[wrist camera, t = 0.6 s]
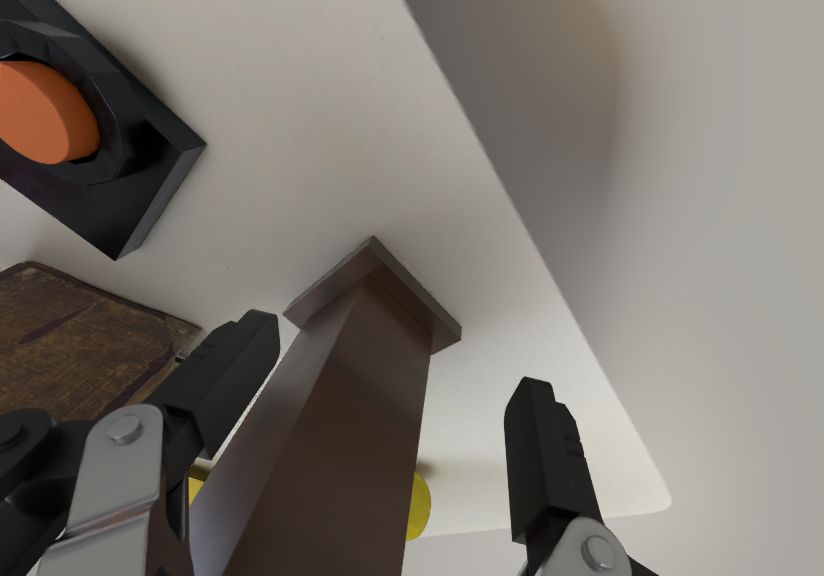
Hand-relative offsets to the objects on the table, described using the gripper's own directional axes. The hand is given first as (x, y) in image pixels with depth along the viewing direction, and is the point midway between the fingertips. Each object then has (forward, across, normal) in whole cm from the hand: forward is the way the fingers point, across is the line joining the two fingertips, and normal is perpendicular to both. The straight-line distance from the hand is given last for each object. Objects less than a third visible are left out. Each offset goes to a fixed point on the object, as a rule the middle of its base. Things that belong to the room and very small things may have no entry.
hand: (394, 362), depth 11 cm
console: (+12, +23, 0) cm, 26 cm away
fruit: (+13, -4, +32) cm, 34 cm away
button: (+9, +20, -2) cm, 22 cm away
